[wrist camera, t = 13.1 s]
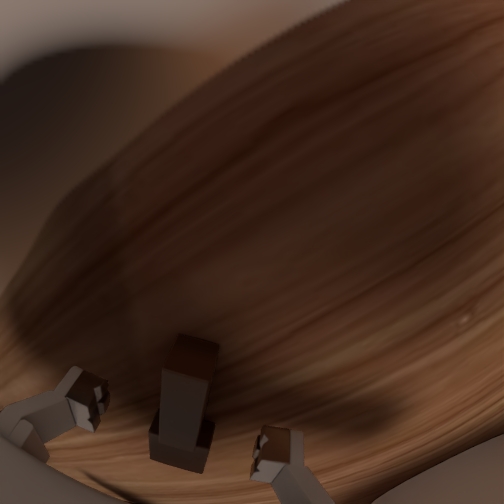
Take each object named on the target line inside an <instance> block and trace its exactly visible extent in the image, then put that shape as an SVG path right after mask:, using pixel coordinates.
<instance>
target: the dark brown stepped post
mask: <svg viewBox="0 0 504 504" xmlns="http://www.w3.org/2000/svg"><path fill="white" fill-rule="evenodd" d="M219 349H220V345H219V344H215V343H211V342H207V341H204V340H200V339H197V338H193V337H189V336H186V335H182V334H178V335H177V337H176V339H175V341H174V344H173V346H172V348H171V350H170V352H169V354H168V356H167V358H166V360H165V362H164V364H163V366H162V368H161V387H160V408H159V409H158V410H157V412H156V415H155V417H154V420H153V422H152V424H151V427H150V429H149V451H150V459H152V460H155V461H158V462H161V463H164V464H167V465H171V466H174V467H177V468H181V469H184V470H188V471H192V472H196V473H200V474H202V473H203V471H204V467H205V464H206V461H207V457H208V454H209V450H210V446H211V442H212V438H213V434H214V429H215V424H214V423H210V422H207V421H203V420H204V415H205V411H206V406H207V402H208V397H209V393H210V388H211V384H212V379H213V375H214V371H215V366H216V362H217V357H218V353H219Z"/></svg>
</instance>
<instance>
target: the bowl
mask: <svg viewBox="0 0 504 504" xmlns="http://www.w3.org/2000/svg"><path fill="white" fill-rule="evenodd" d="M371 504H504V434H502V435H500V436H497V437H495V438H492V439H490V440H488V441H486V442H483V443H481V444H479V445H477V446H474V447H472V448H470V449H468V450H466V451H464V452H462V453H460V454H458V455H456V456H454V457H452V458H449V459H448V460H446V461H444V462H442V463H440V464H438V465H436V466H434V467H432V468H430V469H428V470H426V471H424V472H422V473H420V474H418V475H417V476H415V477H413V478H411V479H409V480H407V481H405V482H403V483H402V484H400V485H398V486H397V487H395V488H393V489H391V490H389V491H388V492H386V493H385V494H383V495H382V496H380V497H379V498H377V499H376V500H375V501H373V502H372V503H371Z"/></svg>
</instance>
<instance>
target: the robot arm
mask: <svg viewBox="0 0 504 504" xmlns="http://www.w3.org/2000/svg"><path fill="white" fill-rule="evenodd" d="M108 386H109V383H108V380H106V379H104V378H101V377H99V376H97V375H95V374H92V373H90V372H88V371H86V370H84V369H81V368H79V367H77V366H73V367H71V368H70V370H69V371H68V372H67V374H66V375H65V376H64V378H63V379H62V380H61V382H60V383H59V384H58V386H57V387H56V388H55V390H54V391H51V390H49V391H46V392H44V393H41V394H38V395H35V396H33V397H30V398H27V399H24V400H22V401H19V402H16V403H13V404H10V405H7V406H6V407H5V408H4V409H3V410H2V412H1V413H0V504H130V503H128V502H125V501H122V500H120V499H117V498H115V497H112V496H110V495H108V494H105V493H103V492H101V491H98V490H96V489H94V488H92V487H89V486H87V485H85V484H83V483H81V482H79V481H77V480H75V479H73V478H71V477H69V476H67V475H65V474H63V473H61V472H60V471H58V470H56V469H54V468H52V467H51V466H49V465H47V464H46V462H47V460H48V459H49V457H50V456H49V453H48V451H47V450H46V448H45V446H44V445H43V444H44V443H46V442H48V441H50V440H52V439H53V438H55V437H57V436H59V435H61V434H63V433H64V432H66V431H68V430H70V429H72V428H73V427H75V426H76V425H77V426H79V427H82V428H84V429H86V430H89V431H91V432H93V433H94V432H95V431H96V429H97V427H98V425H99V423H100V422H101V420H100V415H102V414H104V413H106V411H107V409H108V406H109V403H110V392H109V391H108V390H107V388H108ZM252 457H253V458H254V462H253V464H252V465H251V472H250V480H254V481H260V482H266V483H271V485H272V487H273V489H274V491H275V493H276V495H277V497H278V499H279V500H280V502H281V504H335V502H334V501H333V500H332V498H331V497H330V496H329V495H328V493H327V492H326V491H325V489H324V488H323V487H322V485H321V484H320V483H319V481H318V480H317V479H316V477H315V476H314V474H313V473H312V472H311V470H310V469H309V468H308V467H306V466H304V433H303V431H299V430H291V429H287V428H280V427H274V426H267V425H263V426H262V428H261V433H260V435H258V437H257V439H256V442H255V445H254V449H253V456H252Z"/></svg>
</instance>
